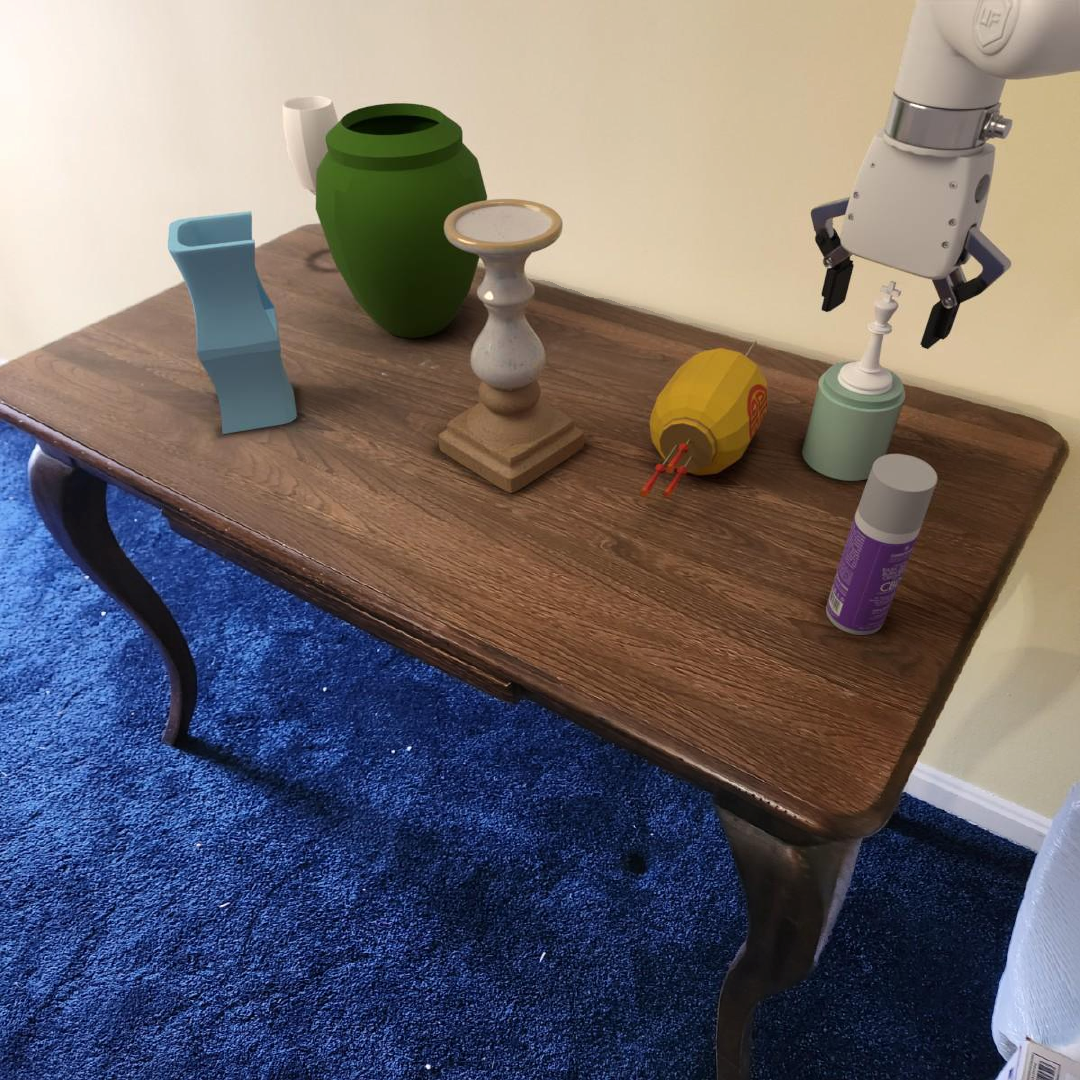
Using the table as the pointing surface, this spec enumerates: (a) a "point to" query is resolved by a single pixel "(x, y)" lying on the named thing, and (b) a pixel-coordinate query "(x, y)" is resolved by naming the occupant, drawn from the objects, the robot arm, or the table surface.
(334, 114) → the cup
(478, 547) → the table surface
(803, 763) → the table surface
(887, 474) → the container
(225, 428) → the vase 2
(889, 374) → the chess piece
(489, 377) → the candle holder
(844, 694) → the table surface
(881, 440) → the upturned tumbler
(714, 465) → the lantern
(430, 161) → the vase
